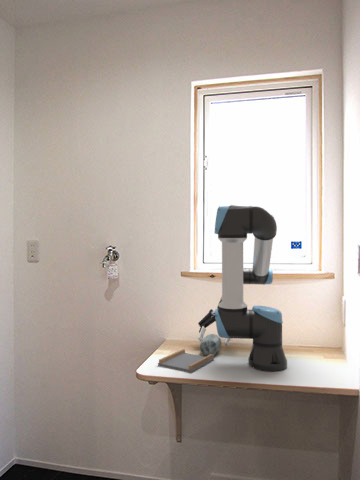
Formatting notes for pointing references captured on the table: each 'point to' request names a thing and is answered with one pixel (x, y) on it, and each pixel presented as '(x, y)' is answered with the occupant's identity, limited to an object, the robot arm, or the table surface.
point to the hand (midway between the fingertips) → (212, 341)
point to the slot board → (185, 361)
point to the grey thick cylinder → (210, 344)
